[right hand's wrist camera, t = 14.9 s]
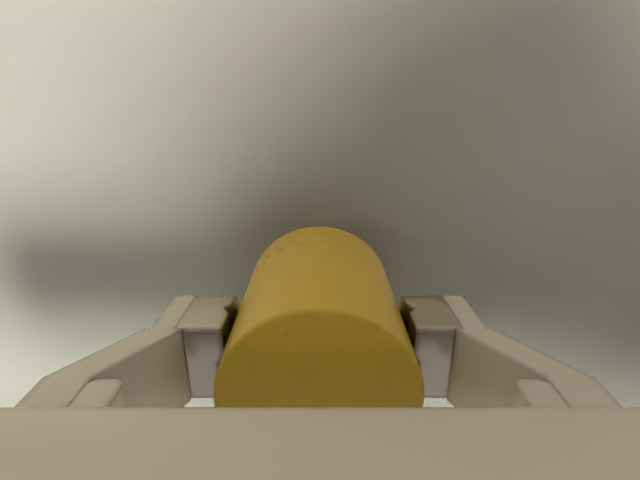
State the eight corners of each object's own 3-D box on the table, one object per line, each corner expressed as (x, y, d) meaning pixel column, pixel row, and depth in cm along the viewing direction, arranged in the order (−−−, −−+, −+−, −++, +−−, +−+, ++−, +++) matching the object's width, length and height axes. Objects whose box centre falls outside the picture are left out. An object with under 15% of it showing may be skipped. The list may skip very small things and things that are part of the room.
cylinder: (277, 360, 13) (255, 498, 9) (231, 247, 12) (177, 342, 7) (400, 328, 13) (444, 456, 8) (367, 208, 11) (398, 283, 7)
